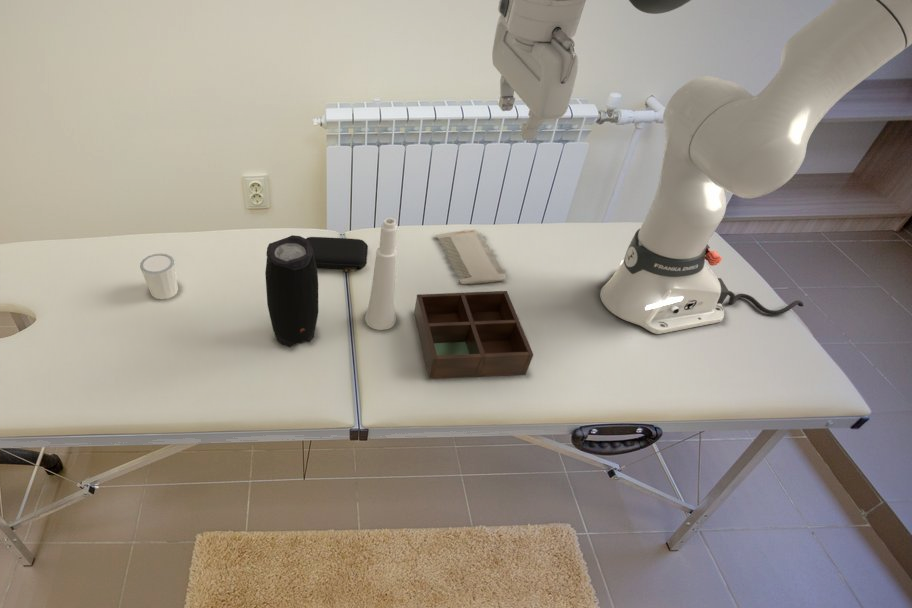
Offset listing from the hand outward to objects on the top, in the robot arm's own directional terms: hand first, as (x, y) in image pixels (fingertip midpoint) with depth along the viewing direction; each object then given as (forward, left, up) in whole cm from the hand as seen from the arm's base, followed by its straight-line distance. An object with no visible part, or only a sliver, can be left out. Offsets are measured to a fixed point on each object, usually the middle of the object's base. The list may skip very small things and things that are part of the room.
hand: (515, 122), depth 85 cm
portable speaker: (+35, +4, -37) cm, 51 cm away
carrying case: (+26, -19, -37) cm, 49 cm away
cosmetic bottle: (+18, +1, -37) cm, 41 cm away
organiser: (+2, +9, -37) cm, 38 cm away
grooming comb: (-4, -18, -37) cm, 41 cm away
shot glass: (+62, -11, -37) cm, 73 cm away
